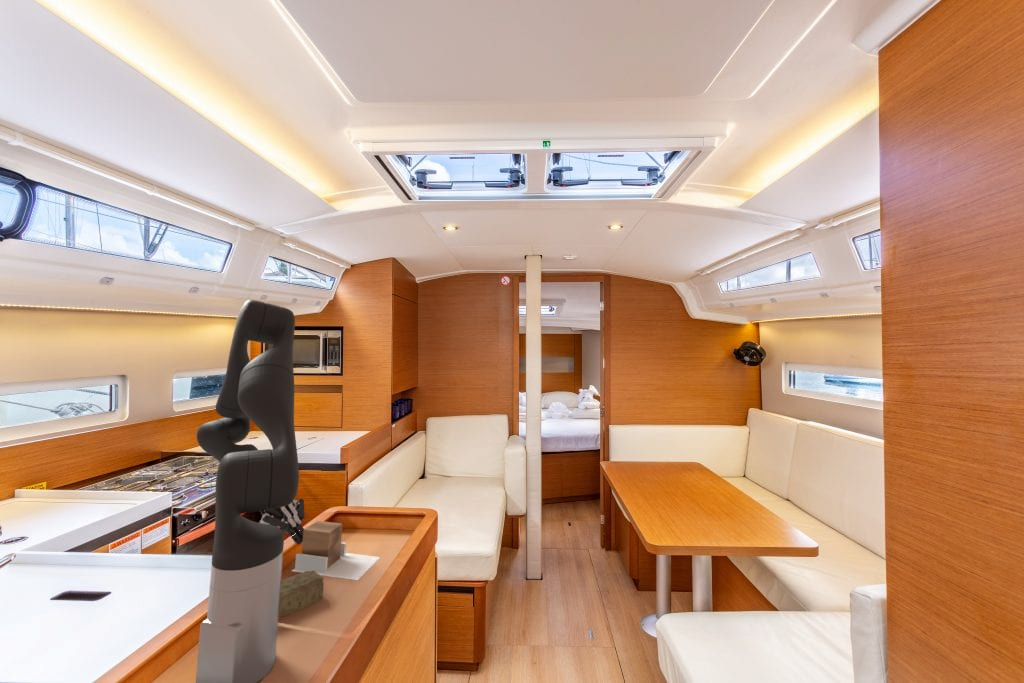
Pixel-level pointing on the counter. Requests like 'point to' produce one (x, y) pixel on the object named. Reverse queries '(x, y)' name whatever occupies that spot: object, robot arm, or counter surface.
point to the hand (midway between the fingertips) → (303, 541)
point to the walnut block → (323, 540)
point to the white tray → (336, 564)
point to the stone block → (299, 592)
